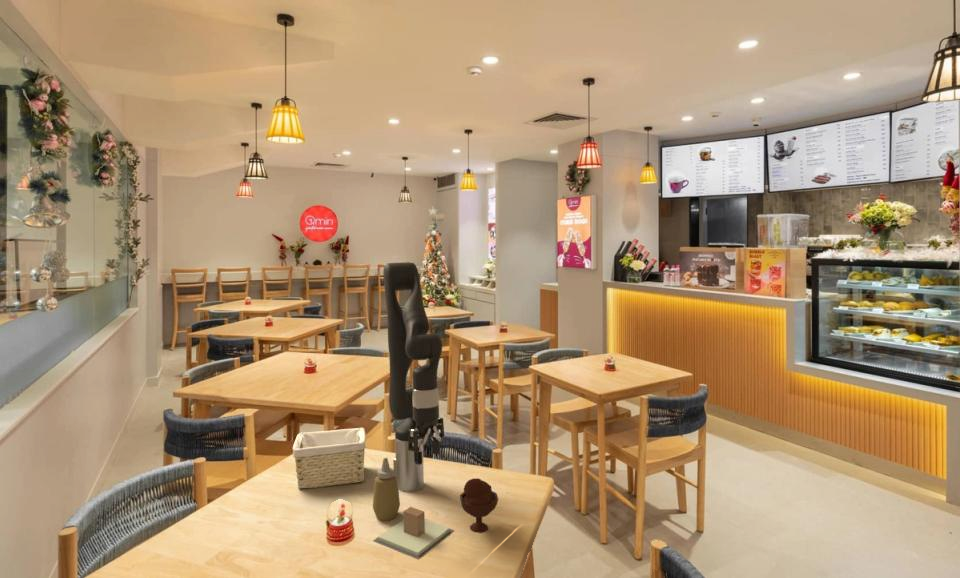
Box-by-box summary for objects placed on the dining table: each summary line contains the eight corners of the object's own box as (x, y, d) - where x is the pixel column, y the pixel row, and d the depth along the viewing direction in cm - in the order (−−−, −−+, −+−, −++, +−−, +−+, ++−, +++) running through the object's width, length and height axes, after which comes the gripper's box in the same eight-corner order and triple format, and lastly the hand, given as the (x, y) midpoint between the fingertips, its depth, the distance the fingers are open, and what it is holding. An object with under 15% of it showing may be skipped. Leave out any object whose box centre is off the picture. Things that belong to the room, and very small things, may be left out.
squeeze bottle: (405, 512, 157) (404, 455, 156) (392, 526, 150) (390, 465, 148) (381, 508, 160) (380, 451, 159) (367, 521, 152) (366, 462, 151)
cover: (378, 540, 142) (377, 515, 141) (411, 517, 154) (410, 494, 153) (417, 556, 134) (417, 530, 134) (449, 531, 146) (449, 507, 146)
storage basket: (292, 492, 171) (291, 448, 170) (298, 471, 187) (297, 431, 186) (367, 484, 177) (366, 442, 175) (366, 465, 192) (365, 426, 191)
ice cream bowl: (495, 541, 142) (494, 488, 141) (455, 537, 144) (454, 484, 143) (501, 521, 152) (501, 471, 151) (464, 517, 154) (463, 468, 153)
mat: (372, 542, 142) (372, 540, 142) (410, 516, 155) (410, 515, 155) (418, 560, 133) (418, 559, 133) (454, 532, 147) (454, 530, 146)
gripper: (429, 396, 157) (431, 449, 158) (399, 408, 145) (401, 465, 146) (450, 399, 153) (451, 452, 154) (421, 411, 141) (423, 469, 142)
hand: (427, 458), depth 150 cm, fingers open, 8 cm apart
